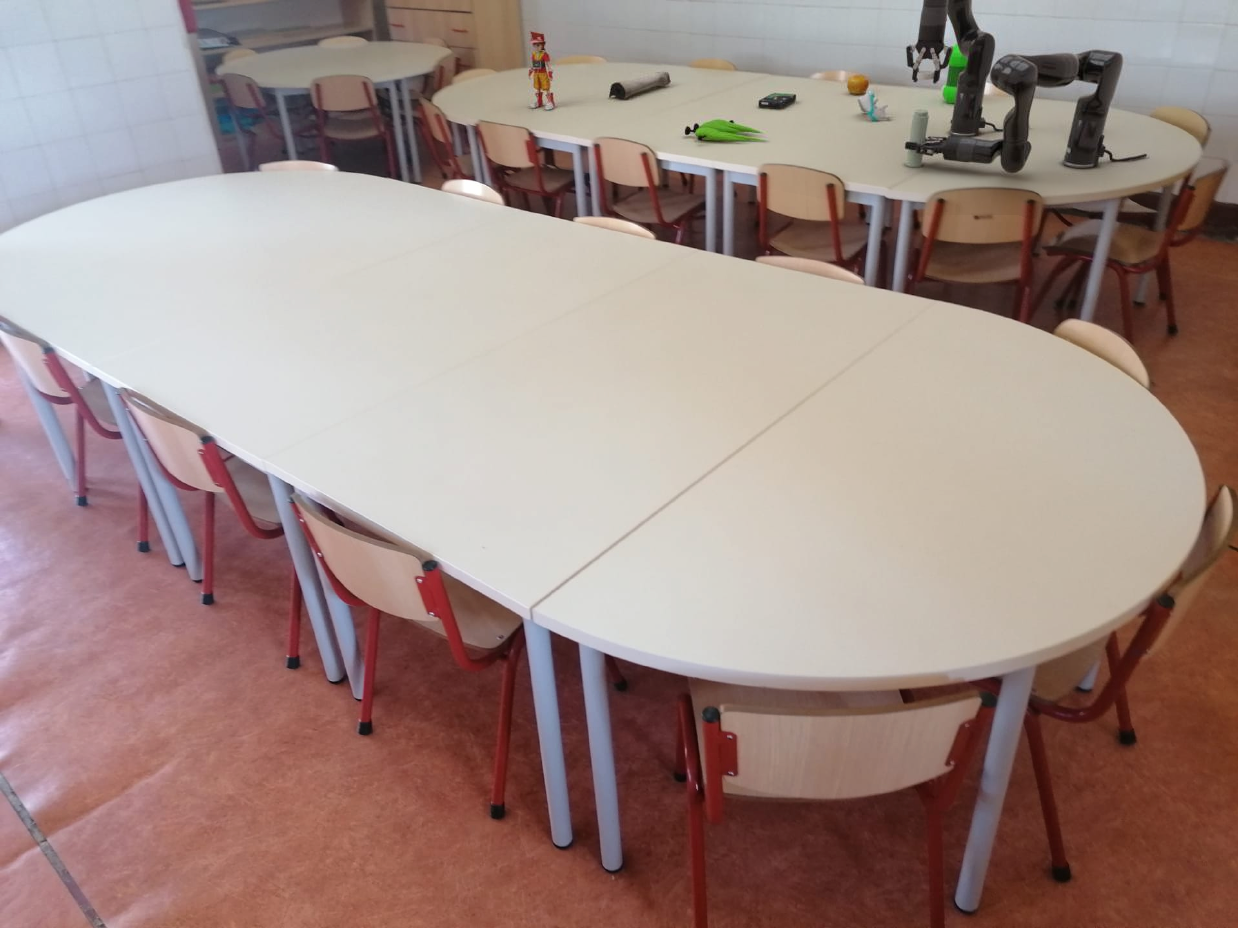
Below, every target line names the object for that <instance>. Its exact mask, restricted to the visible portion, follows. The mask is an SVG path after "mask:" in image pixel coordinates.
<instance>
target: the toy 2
mask: <svg viewBox="0 0 1238 928" xmlns="http://www.w3.org/2000/svg"><path fill="white" fill-rule="evenodd" d="M692 128H693V129H691V127H690V126H689V125H687V126H686V127H685V129H684V135H685V136H689V135H690V134H691V133H694V136H695V137H697V140H698V141H699V142H701V141H703V140H707V141H729V142H730V141H731V142H742V141H743V142H748V141H755V142H756V141H758V142H761V141H763V142H766V141H767V140H766V139H765V140H764V139H761V138H756V137H751V136H746V135H741V133H752V134H762V135H763V134H764V132H762V131H760V130H758V129H754V128H752V127H750V126H749V127H748V126H745V125H741V124H737V123H735V121H734V120H733V119H730V120H729V121H727V120H724V119H712V120H709V121H707V122H703V123H702V124H701V125H700V124H699V123H696V122H695V123H694V125H693V127H692Z"/></svg>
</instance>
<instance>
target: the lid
mask: <svg viewBox="0 0 1238 928" xmlns="http://www.w3.org/2000/svg"><path fill="white" fill-rule="evenodd" d="M934 72H935V70H919V72H917V79H918V80H923V81H929V80H930V81H931V80H933V79H934Z"/></svg>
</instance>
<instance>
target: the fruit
mask: <svg viewBox="0 0 1238 928" xmlns="http://www.w3.org/2000/svg"><path fill="white" fill-rule="evenodd" d="M869 85H870V83H869V79H868V78H867V77H866V76H864V75H863V74H857V75H852V76H851V77H850V78H849V79H848V81H847V83H846V88H847V90H848V92H849V93H850V94H853V95H861V94H864V93H865V92H867V91H868V89H869Z"/></svg>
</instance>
